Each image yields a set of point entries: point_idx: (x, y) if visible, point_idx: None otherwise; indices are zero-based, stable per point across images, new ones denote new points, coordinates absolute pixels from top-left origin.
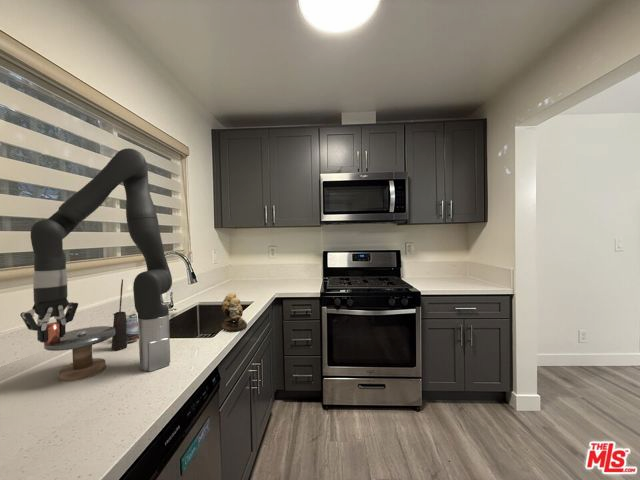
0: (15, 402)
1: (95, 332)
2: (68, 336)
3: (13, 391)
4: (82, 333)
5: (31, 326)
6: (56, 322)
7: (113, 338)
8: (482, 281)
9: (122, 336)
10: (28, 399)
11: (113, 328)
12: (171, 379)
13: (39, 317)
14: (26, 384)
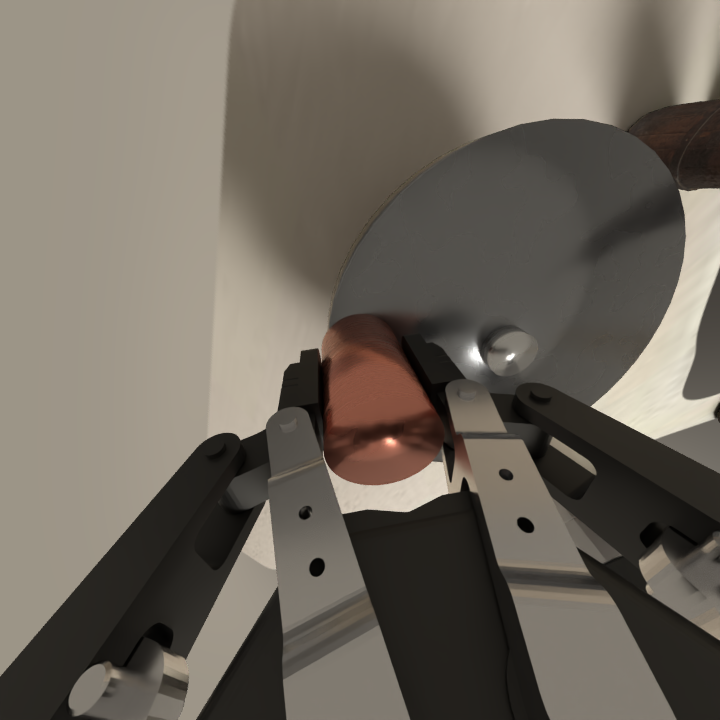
0: (236, 318)
1: (547, 367)
2: (470, 295)
3: (242, 209)
4: (498, 374)
5: (203, 541)
6: (432, 429)
7: (688, 148)
8: None
9: (701, 187)
10: (263, 332)
11: (612, 381)
12: (445, 488)
13: (288, 538)
14: (286, 181)
